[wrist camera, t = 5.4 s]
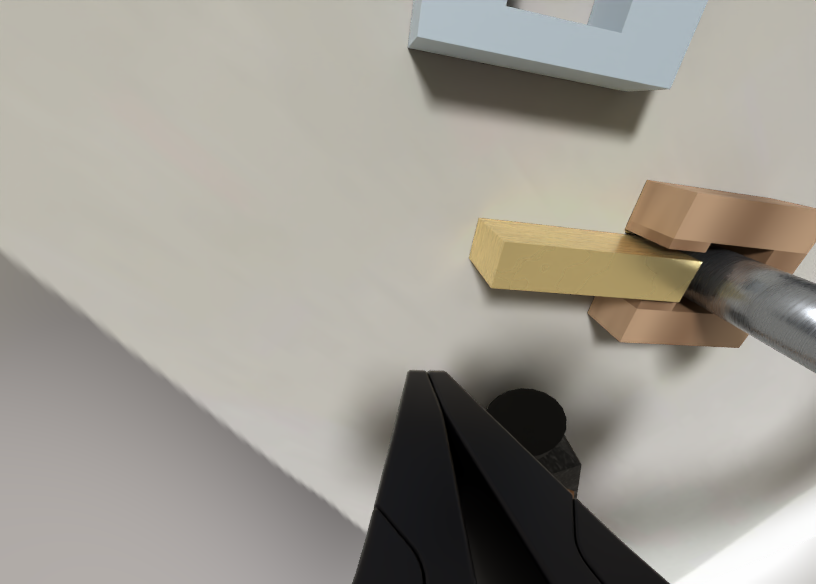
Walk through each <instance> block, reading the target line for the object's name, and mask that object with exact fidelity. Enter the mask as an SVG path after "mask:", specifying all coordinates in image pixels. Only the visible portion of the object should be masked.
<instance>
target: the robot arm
mask: <svg viewBox="0 0 816 584" xmlns="http://www.w3.org/2000/svg"><path fill="white" fill-rule="evenodd" d="M352 584H670V583H669V582H667V581H666V580H665V579H664V578H663V577H662V576H661V575H659V574H658V573H657V572H656V571H655V570H654V569H653V568H651V567H650V566H649V565H648V564H647V563H646V562H645V561H643V560H642V559H641V558H640V557H639V556H638V555H637V554H636V553H634V552H633V551H632V550H631V549H630V548H629V547H628V546H626V545H625V544H624V543H623V542H622V541H621V540H620V539H619V538H618V537H617V536H616V535H615V534H614V533H613V532H612V531H610V530H609V529H608V528H607V527H606V526H605V525H604V524H603V523H602V522H601V521H600V520H599V519H598V518H597V517H595V516H594V515H593V514H592V513H591V512H590V511H589V510H588V509H587V508H586V507H585V506H584V505H583V504H582V503H581V502H580V501H579V500H578V499H576V498H574V499H573V495H572V493H571V492H569V491H568V490H567V489H566V488H565V487H564V486H563V485H562V484H561V483H560V482H559V481H558V480H557V479H556V478H555V477H554V476H553V475H552V474H551V473H550V472H549V471H548V470H547V469H546V468H545V467H544V466H543V465H542V464H541V463H540V462H539V461H538V460H536V459H535V458H534V457H533V456H532V455H531V454H530V453H529V452H528V451H527V450H526V449H525V448H524V447H523V446H522V445H521V444H520V443H519V442H518V441H517V440H516V439H515V438H514V437H513V436H512V435H511V434H510V433H509V432H508V431H507V430H506V429H505V428H503V427H502V426H501V425H500V424H499V423H498V422H497V421H496V420H495V419H494V418H493V417H492V416H491V415H490V414H489V413H488V412H487V411H486V410H485V409H484V408H483V407H482V406H481V405H480V404H479V403H478V402H477V401H476V400H475V399H474V398H473V397H472V396H470V395H469V394H468V393H467V392H466V391H465V390H464V389H463V388H462V387H461V386H460V385H459V384H458V383H457V382H456V381H455V380H454V379H453V378H452V377H451V376H450V375H449V374H448V373H447V372H445V371H428V372H426V371H424V370H410V371H408V373H407V377H406V381H405V385H404V389H403V393H402V397H401V401H400V405H399V409H398V413H397V417H396V421H395V425H394V429H393V433H392V437H391V441H390V445H389V449H388V453H387V457H386V461H385V465H384V469H383V473H382V477H381V481H380V485H379V489H378V493H377V497H376V501H375V505H374V510H373V512H372V516H371V520H370V524H369V528H368V532H367V536H366V539H365V543H364V546H363V550H362V553H361V557H360V560H359V564H358V568H357V571H356V574H355V577H354V579H353V582H352Z"/></svg>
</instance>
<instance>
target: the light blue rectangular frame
mask: <svg viewBox="0 0 816 584" xmlns="http://www.w3.org/2000/svg"><path fill="white" fill-rule="evenodd" d="M707 2H708V0H595V2H594V5H593V8H592V12H591V15H590V18H589V21H588V24H587V25H585V24H581V23H576V22H572V21H568V20H564V19H559V18H555V17H551V16H547V15H542V14H538V13H534V12H530V11H525V10H521V9H517V8H513V7H508V6H506V3H507V0H413V9H412V17H411V25H410V34H409V42H408V48H411V49H416V50H421V51H426V52H431V53H436V54H441V55H446V56H451V57H456V58H461V59H466V60H471V61H476V62H481V63H486V64H491V65H496V66H501V67H506V68H511V69H516V70H521V71H526V72H531V73H536V74H541V75H546V76H551V77H556V78H561V79H566V80H571V81H576V82H581V83H586V84H591V85H596V86H601V87H606V88H611V89H616V90H621V91H626V92H627V91H645V90H662V89H670V88H671V86H672V83H673V81H674V79H675V76H676V74H677V72H678V69H679V67H680V65H681V62H682V60H683V58H684V55H685V53H686V51H687V48H688V46H689V44H690V41H691V39H692V37H693V34H694V32H695V30H696V27H697V25H698V23H699V20H700V18H701V16H702V13H703V11H704V9H705V6H706V4H707Z"/></svg>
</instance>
